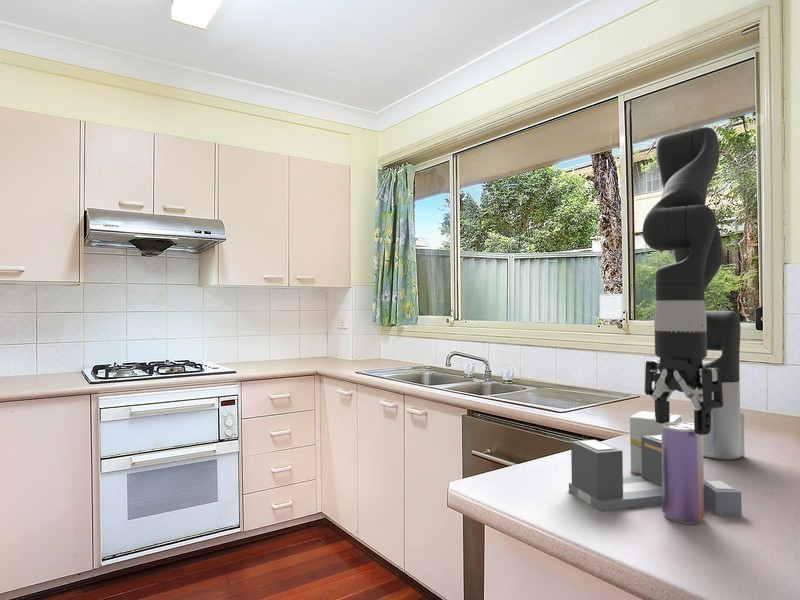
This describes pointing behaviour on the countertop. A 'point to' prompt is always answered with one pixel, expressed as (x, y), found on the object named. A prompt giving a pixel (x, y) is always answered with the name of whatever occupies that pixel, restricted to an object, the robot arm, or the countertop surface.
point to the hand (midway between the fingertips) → (681, 428)
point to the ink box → (644, 434)
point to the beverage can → (682, 473)
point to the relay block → (722, 498)
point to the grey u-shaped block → (616, 475)
